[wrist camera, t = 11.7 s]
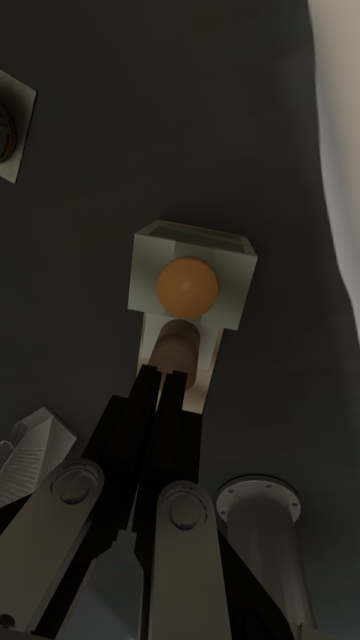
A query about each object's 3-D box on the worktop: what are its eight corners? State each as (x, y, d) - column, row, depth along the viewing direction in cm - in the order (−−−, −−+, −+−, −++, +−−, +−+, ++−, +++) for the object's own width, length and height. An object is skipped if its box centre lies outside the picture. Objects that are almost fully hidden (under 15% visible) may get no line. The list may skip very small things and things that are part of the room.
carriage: (209, 349, 33) (207, 411, 24) (149, 337, 34) (124, 394, 25) (221, 301, 31) (223, 350, 22) (155, 288, 31) (131, 332, 22)
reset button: (211, 307, 25) (210, 323, 22) (160, 297, 25) (153, 312, 22) (222, 256, 23) (224, 267, 20) (167, 245, 23) (160, 254, 20)
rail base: (197, 425, 41) (192, 489, 32) (134, 411, 41) (112, 471, 32) (245, 235, 30) (257, 257, 21) (158, 219, 30) (134, 233, 21)
